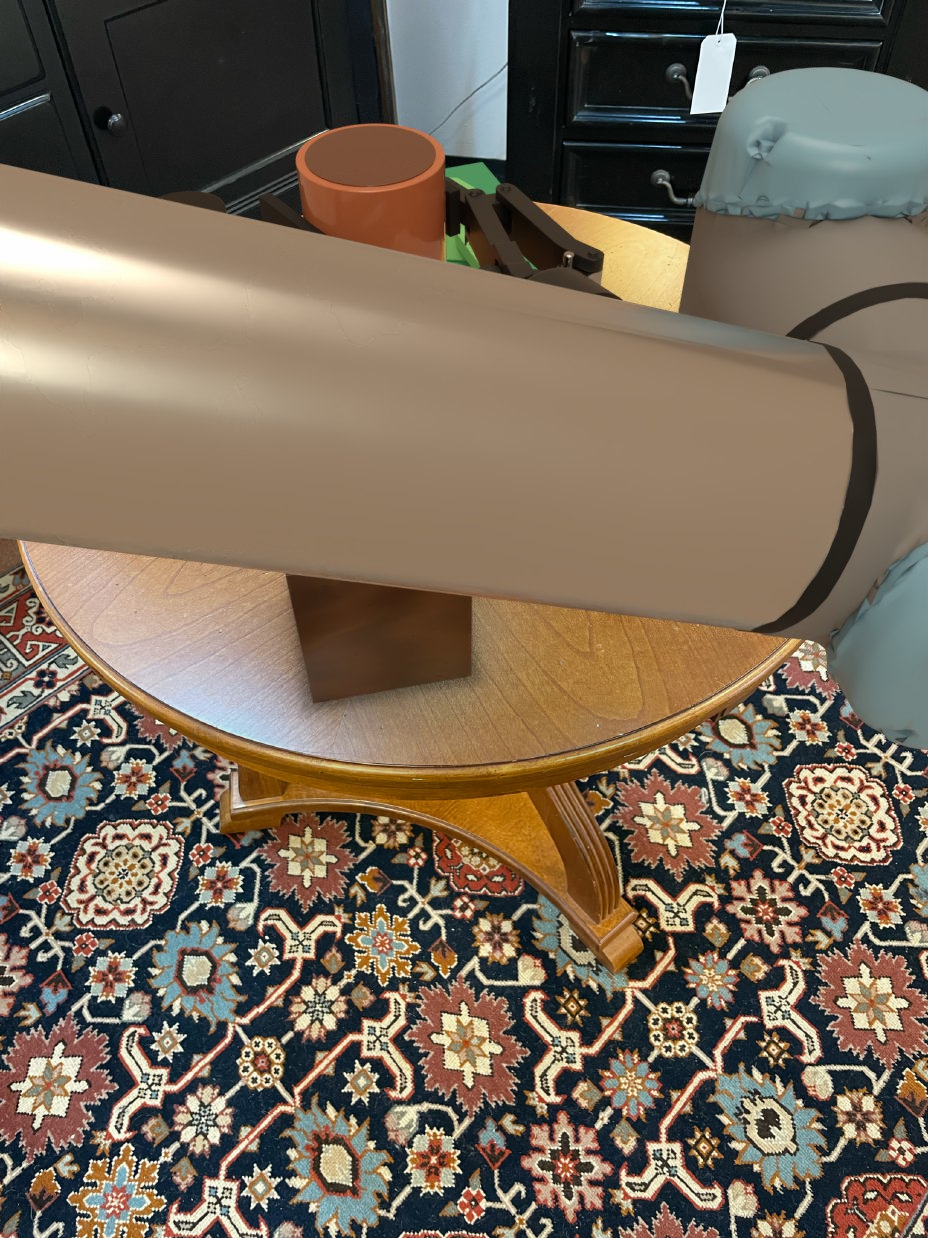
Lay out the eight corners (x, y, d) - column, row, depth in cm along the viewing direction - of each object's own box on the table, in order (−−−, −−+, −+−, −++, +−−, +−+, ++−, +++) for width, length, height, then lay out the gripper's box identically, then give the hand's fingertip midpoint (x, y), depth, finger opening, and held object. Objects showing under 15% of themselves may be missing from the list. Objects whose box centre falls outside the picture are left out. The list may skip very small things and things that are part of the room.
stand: (312, 703, 70) (285, 575, 60) (296, 585, 78) (269, 452, 67) (471, 676, 72) (472, 546, 61) (440, 562, 80) (436, 429, 69)
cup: (325, 362, 57) (302, 197, 49) (311, 288, 62) (288, 128, 54) (459, 345, 58) (458, 181, 50) (434, 274, 63) (430, 115, 55)
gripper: (411, 521, 45) (188, 308, 57) (717, 358, 53) (468, 202, 65) (403, 390, 39) (157, 183, 51) (748, 230, 48) (468, 83, 59)
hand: (332, 194), depth 58 cm, fingers closed on cup, 8 cm apart
